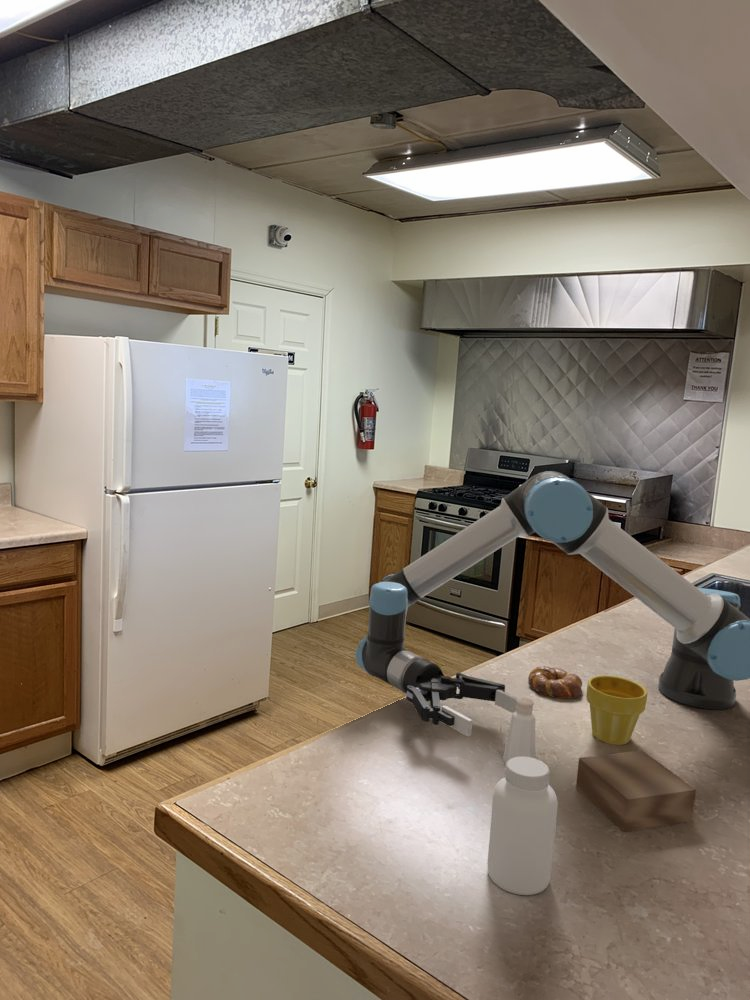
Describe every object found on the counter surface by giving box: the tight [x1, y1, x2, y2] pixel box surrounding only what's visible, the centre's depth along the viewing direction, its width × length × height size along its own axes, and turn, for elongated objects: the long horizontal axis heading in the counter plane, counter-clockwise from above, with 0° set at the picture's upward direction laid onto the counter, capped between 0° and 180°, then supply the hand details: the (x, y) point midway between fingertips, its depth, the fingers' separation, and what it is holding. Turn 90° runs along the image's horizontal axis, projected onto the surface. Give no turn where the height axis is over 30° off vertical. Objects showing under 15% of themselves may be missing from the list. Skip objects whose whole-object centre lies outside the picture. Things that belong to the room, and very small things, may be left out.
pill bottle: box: [487, 757, 559, 896], centre depth 92 cm, size 8×8×15 cm
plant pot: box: [585, 674, 648, 746], centre depth 133 cm, size 10×10×10 cm
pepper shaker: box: [502, 697, 537, 765], centre depth 122 cm, size 5×5×11 cm
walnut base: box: [575, 750, 697, 833], centre depth 112 cm, size 12×12×5 cm
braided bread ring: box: [528, 665, 583, 699], centre depth 155 cm, size 12×11×4 cm
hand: (498, 719), depth 125 cm, fingers open, 13 cm apart
